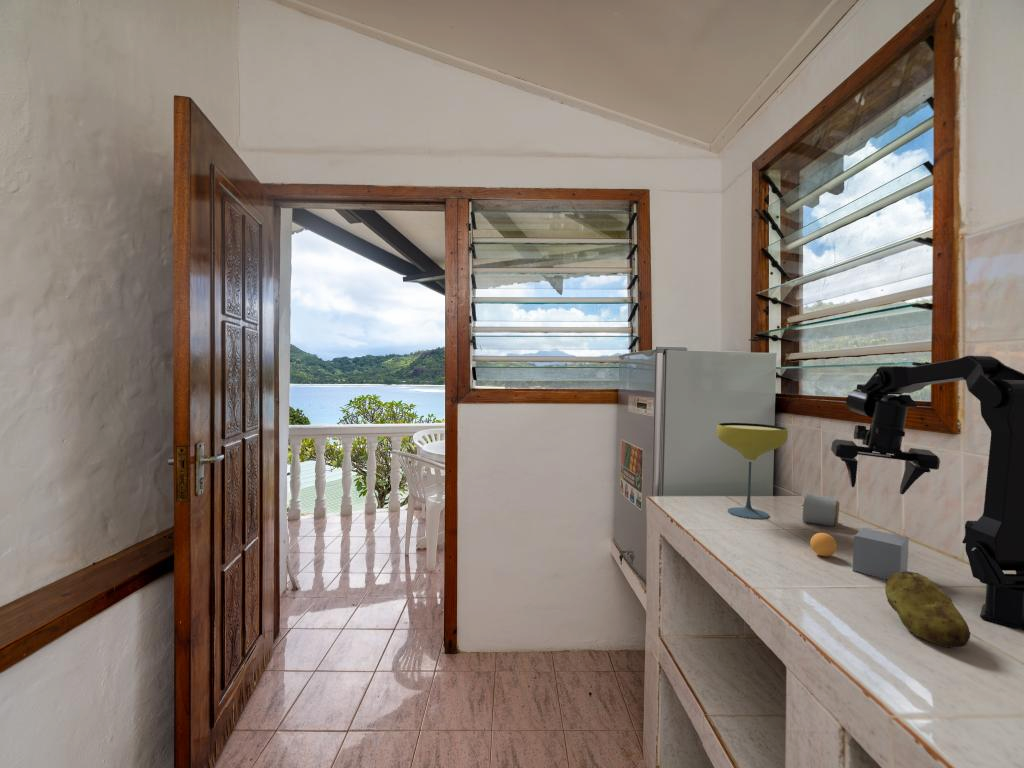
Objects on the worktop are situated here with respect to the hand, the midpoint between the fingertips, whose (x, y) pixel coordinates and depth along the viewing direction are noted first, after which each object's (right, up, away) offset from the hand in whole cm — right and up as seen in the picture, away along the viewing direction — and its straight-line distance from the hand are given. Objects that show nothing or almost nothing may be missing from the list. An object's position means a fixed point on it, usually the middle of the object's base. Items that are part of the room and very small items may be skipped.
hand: (876, 490), depth 113 cm
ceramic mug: (+2, -14, +24) cm, 28 cm away
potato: (-17, -15, -34) cm, 41 cm away
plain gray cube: (-7, -15, -10) cm, 19 cm away
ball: (-13, -12, -2) cm, 18 cm away
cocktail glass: (-15, -13, +31) cm, 36 cm away
